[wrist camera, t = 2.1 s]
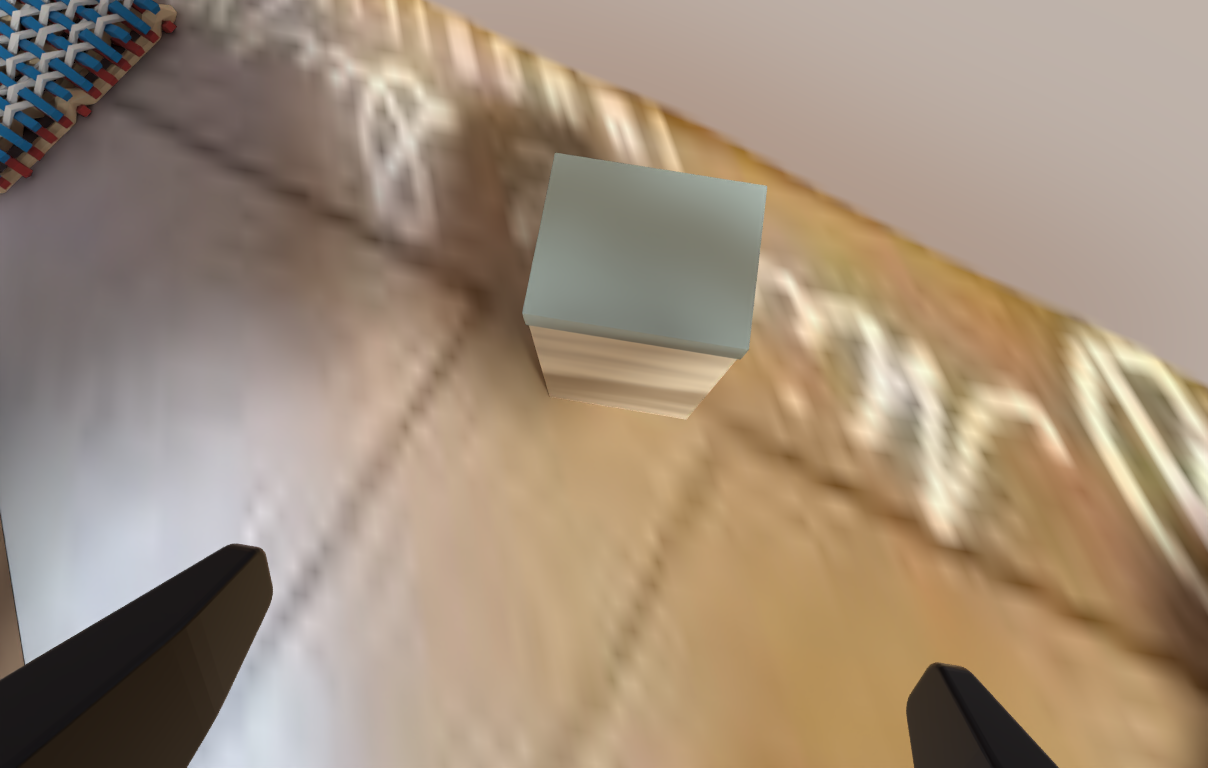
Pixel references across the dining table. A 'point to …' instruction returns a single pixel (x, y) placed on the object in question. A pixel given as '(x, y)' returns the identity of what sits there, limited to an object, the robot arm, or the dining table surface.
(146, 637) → the robot arm
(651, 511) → the dining table surface
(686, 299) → the beech block
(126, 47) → the woven mat
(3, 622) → the base
